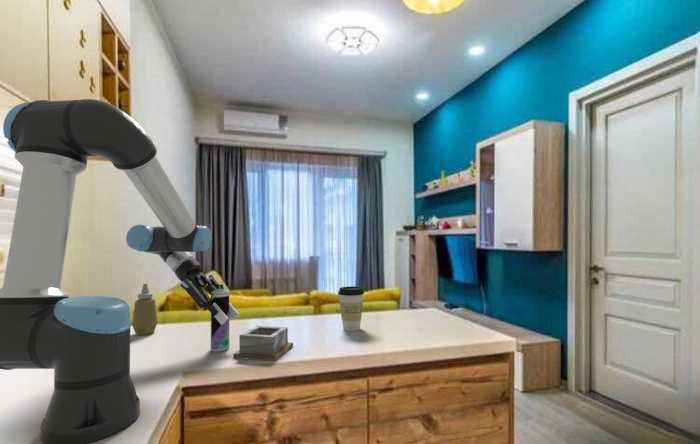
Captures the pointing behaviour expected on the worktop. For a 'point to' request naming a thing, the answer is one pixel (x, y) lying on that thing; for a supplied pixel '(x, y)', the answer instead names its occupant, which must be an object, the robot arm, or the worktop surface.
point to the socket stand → (263, 343)
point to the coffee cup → (351, 307)
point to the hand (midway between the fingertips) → (230, 319)
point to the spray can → (217, 330)
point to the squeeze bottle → (145, 313)
